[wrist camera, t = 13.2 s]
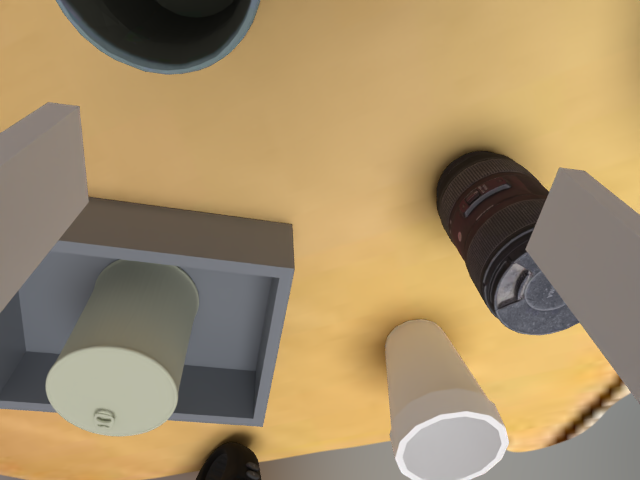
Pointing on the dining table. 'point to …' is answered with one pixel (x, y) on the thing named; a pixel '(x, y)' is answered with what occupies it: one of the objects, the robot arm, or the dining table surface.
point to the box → (209, 323)
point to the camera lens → (501, 239)
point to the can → (126, 350)
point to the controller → (231, 464)
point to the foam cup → (438, 408)
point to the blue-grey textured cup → (162, 30)
